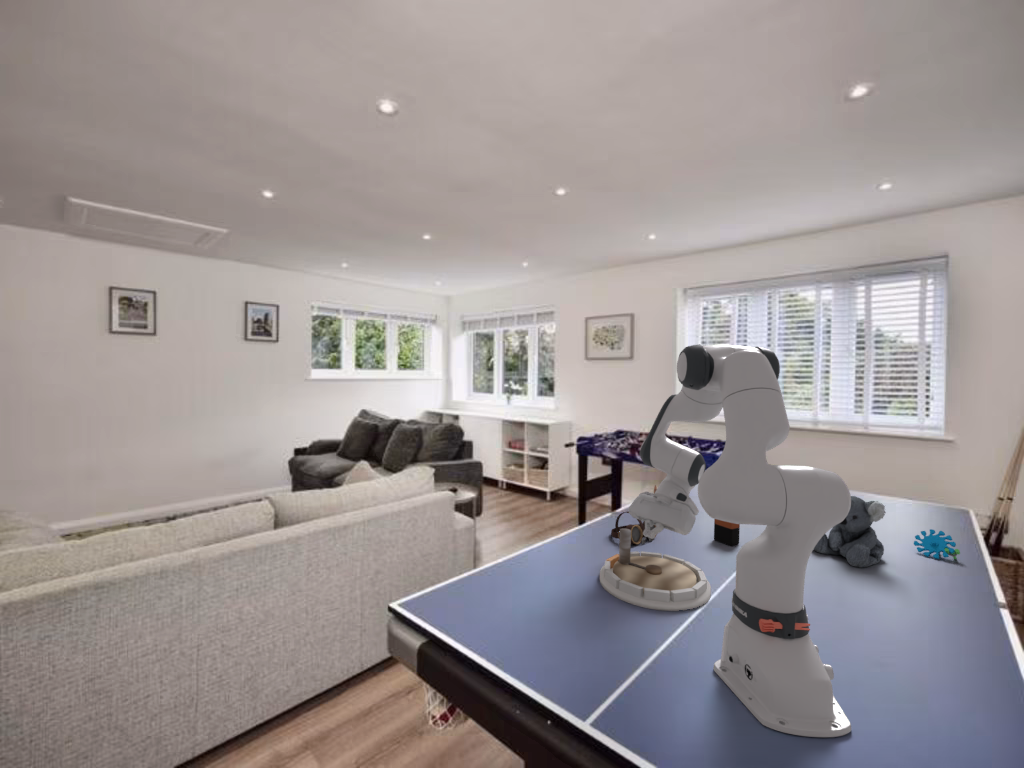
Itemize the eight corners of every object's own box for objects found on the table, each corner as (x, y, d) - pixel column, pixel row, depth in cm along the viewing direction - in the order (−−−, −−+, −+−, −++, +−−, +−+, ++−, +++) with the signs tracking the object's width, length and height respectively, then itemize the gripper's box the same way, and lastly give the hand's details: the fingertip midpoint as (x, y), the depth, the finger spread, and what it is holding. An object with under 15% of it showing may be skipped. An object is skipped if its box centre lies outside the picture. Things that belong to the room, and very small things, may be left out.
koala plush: (804, 549, 151) (807, 489, 150) (843, 543, 157) (845, 485, 157) (861, 571, 135) (864, 503, 134) (901, 563, 141) (904, 498, 141)
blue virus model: (906, 546, 150) (923, 523, 152) (911, 556, 153) (928, 533, 154) (948, 564, 140) (966, 539, 142) (953, 574, 143) (970, 550, 144)
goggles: (634, 548, 149) (629, 516, 150) (603, 545, 159) (598, 515, 160) (662, 537, 158) (656, 507, 160) (630, 536, 168) (625, 507, 170)
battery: (731, 546, 152) (732, 516, 152) (713, 540, 158) (713, 510, 158) (739, 544, 154) (740, 514, 154) (721, 538, 160) (722, 508, 160)
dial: (708, 576, 125) (709, 537, 124) (676, 605, 109) (677, 560, 109) (635, 555, 139) (636, 520, 138) (598, 577, 123) (599, 538, 123)
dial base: (729, 613, 109) (729, 597, 109) (607, 608, 111) (607, 592, 111) (690, 564, 137) (690, 551, 137) (593, 560, 139) (594, 548, 139)
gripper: (637, 484, 148) (615, 520, 143) (695, 499, 131) (672, 541, 126) (646, 496, 151) (625, 532, 146) (704, 512, 134) (682, 553, 129)
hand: (647, 536), depth 136 cm, fingers closed
